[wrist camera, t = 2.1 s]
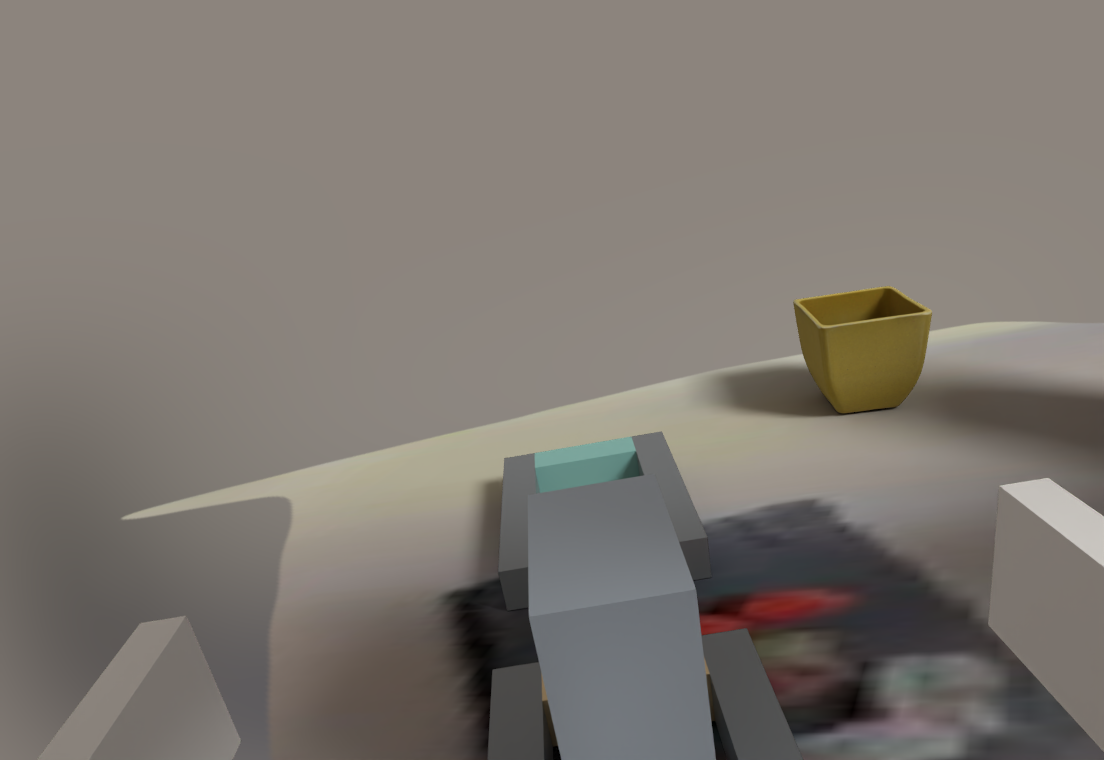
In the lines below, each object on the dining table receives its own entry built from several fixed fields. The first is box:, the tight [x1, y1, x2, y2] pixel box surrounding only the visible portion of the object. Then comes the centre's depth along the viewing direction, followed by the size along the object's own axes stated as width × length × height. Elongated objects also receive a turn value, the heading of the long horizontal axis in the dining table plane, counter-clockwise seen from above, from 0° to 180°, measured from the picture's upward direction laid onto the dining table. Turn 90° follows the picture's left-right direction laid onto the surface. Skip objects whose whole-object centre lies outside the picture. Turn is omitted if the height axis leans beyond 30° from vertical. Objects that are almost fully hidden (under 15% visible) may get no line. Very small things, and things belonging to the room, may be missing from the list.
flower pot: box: [793, 286, 932, 413], centre depth 60 cm, size 9×9×9 cm
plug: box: [528, 474, 716, 760], centre depth 27 cm, size 5×8×15 cm, turn 2°
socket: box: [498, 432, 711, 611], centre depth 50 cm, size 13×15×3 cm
